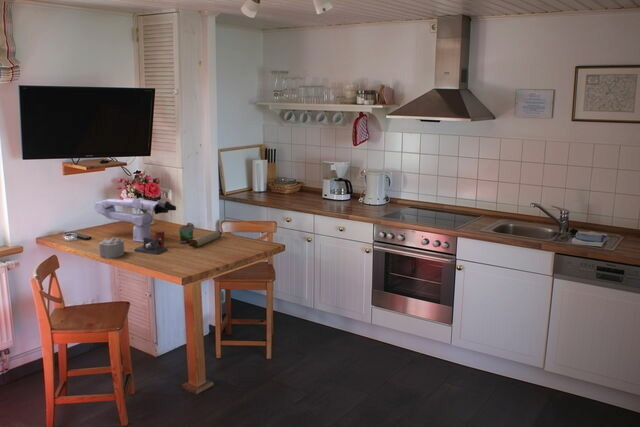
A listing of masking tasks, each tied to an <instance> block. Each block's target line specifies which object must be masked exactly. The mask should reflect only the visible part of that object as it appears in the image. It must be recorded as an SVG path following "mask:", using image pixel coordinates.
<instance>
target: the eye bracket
mask: <svg viewBox="0 0 640 427" xmlns="http://www.w3.org/2000/svg"><path fill="white" fill-rule="evenodd" d="M143 241H144V242H143V245H141V246H138V247H135V248H134V252H136V253H142V254H150V255H158V254H161V253H163V252H165V251H168V247H167V246H158V239H156V238H155V237H154V238H153V237H151V238H148V237H145V238H143ZM149 243H152V246H150V247H148V248H146V245H147V244H149Z"/></svg>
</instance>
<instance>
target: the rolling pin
mask: <svg viewBox="0 0 640 427" xmlns="http://www.w3.org/2000/svg"><path fill="white" fill-rule="evenodd" d="M222 234H223V232H221V230H218V229H216V230H212V231H211V232H209V233H207V234H203V235H201V236H199V237H195V238H193V239H192V240H191V241H190V243H188V247H192V248H194V249H197V247H199V246H202V245H205V244H208V243H210V242H212V241H215V240H216V239H220V238H221V237H222Z"/></svg>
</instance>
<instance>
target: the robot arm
mask: <svg viewBox="0 0 640 427" xmlns="http://www.w3.org/2000/svg"><path fill="white" fill-rule="evenodd" d="M115 206H122V207H123V208H124V209H134V210H139V209H140V210H145V211H149V212H145V213H131V212H125V211H117V209H116V207H115ZM94 209H95V210H96V212H97V214H101V215H103V216H104V217H105V218H107V219H108V220H113V221H122V222H129V223H132V224H133V225H134V226H133V228H132V234H133V235H132V236H133V239H132V241H133V242H138V243H139V242H141V243H144V241H143V238H145V237H148V238H152V237H151V236H152V235H151V225H152V222H153V220H154V219H153V215H152V214H151V213H150V212H154V214H155V215H159V214H163V213H164V214H166V213H167V214H168V213H169V211H177V206H176V205H174V204H172V203H171V202H170V201H168V200H167V201H165V203H164V202H161V200H159V199H158V200H157V201H155V200H148V199H145V198H144V197H139V198H136V197H133V198H131V197H129V196H126V197H125V198H123V199H117V198H106V199H104V200H100V201H96V202H95V203H94Z"/></svg>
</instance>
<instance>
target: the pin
mask: <svg viewBox="0 0 640 427" xmlns="http://www.w3.org/2000/svg"><path fill="white" fill-rule="evenodd" d="M154 238H156V239H158V246H162V247H164V246H165V244H166V243H165V241H166V240H165V230H156V231H154ZM150 246H152V243H151V242H150V243H149V244H147V245H146V248H148V247H150Z"/></svg>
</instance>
